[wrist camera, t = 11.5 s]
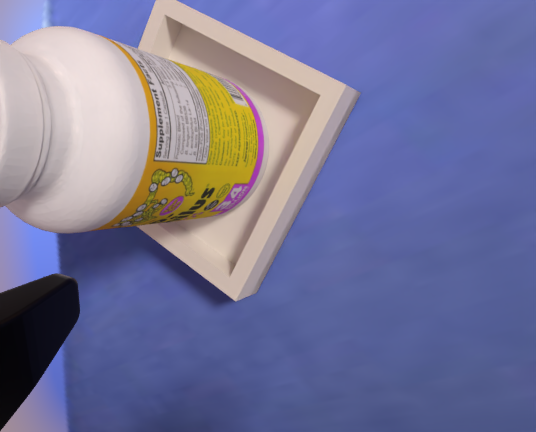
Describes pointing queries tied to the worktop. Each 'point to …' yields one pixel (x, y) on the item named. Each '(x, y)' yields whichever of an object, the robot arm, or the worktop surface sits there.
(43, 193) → the supplement bottle
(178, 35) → the tray
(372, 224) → the worktop surface
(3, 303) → the robot arm
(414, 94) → the worktop surface
